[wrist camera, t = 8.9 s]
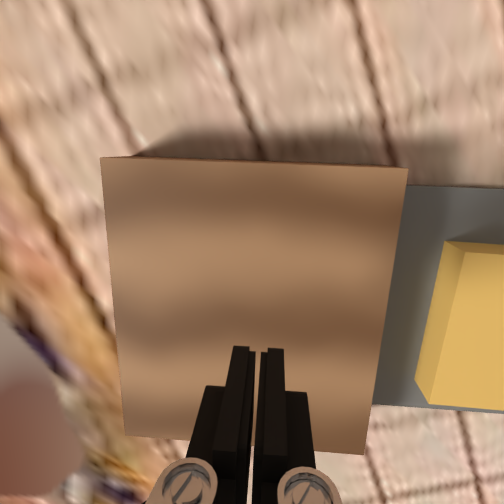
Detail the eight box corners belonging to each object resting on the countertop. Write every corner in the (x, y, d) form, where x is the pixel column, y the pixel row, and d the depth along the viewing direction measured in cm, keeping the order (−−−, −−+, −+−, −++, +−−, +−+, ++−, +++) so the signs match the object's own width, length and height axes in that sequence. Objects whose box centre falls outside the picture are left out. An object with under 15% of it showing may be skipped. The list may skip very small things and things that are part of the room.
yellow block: (592, 260, 17) (557, 248, 19) (465, 252, 17) (444, 240, 19) (538, 413, 19) (513, 387, 21) (428, 404, 20) (414, 379, 22)
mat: (389, 184, 19) (392, 185, 18) (594, 192, 18) (601, 193, 18) (358, 398, 23) (360, 403, 22) (525, 411, 22) (530, 415, 22)
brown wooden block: (130, 156, 19) (99, 157, 16) (384, 165, 19) (408, 168, 15) (146, 395, 24) (125, 435, 21) (351, 410, 23) (363, 455, 20)
